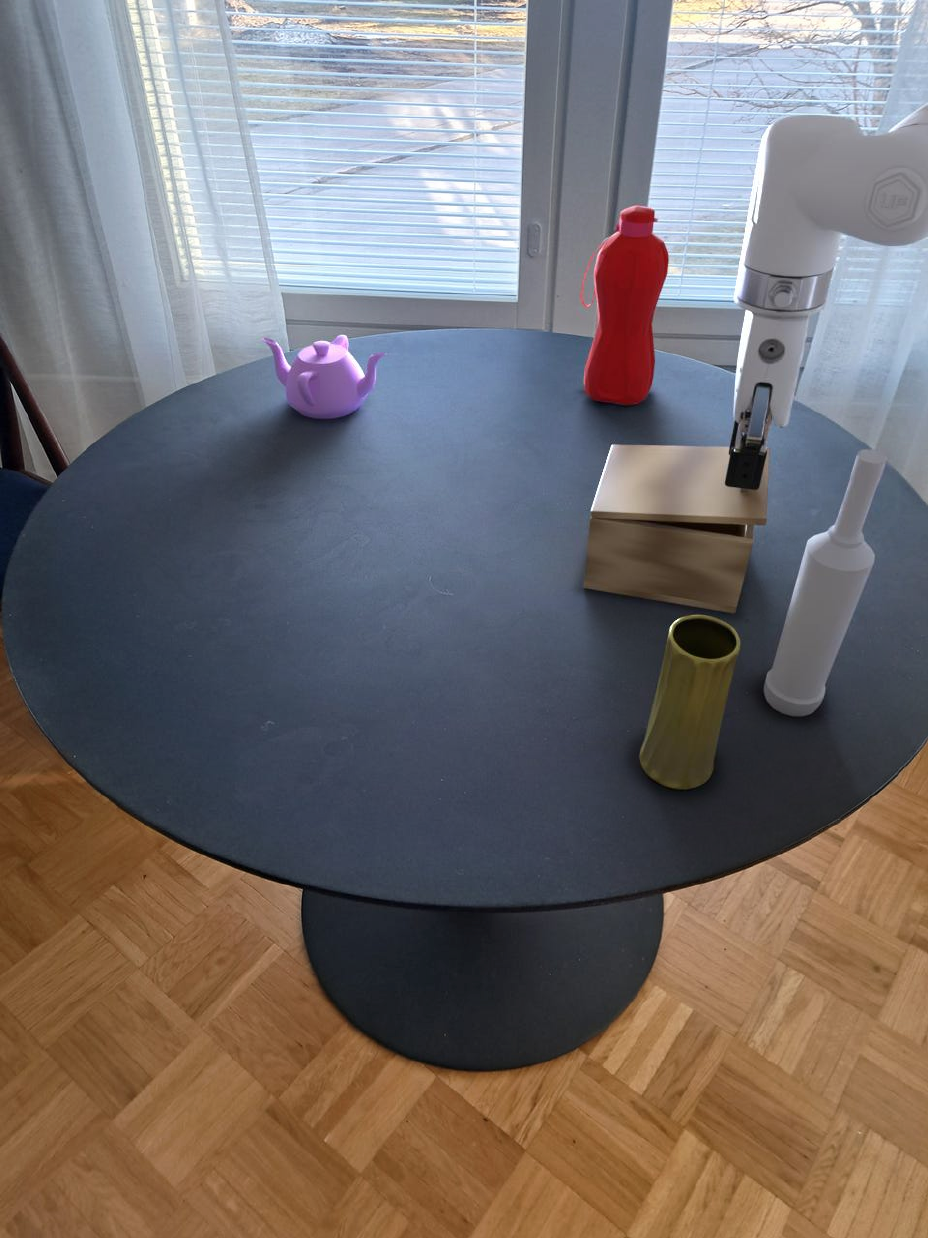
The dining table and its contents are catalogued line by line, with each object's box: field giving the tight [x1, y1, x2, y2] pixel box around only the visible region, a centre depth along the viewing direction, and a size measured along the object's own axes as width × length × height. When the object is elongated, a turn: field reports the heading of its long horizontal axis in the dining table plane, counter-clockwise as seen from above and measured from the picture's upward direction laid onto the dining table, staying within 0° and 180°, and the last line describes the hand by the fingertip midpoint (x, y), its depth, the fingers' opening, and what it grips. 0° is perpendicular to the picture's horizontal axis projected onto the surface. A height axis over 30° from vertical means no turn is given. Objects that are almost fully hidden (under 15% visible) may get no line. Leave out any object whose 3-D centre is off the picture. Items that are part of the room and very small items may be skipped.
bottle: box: [763, 448, 888, 717], centre depth 71 cm, size 5×5×25 cm
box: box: [582, 517, 755, 615], centre depth 92 cm, size 16×14×9 cm
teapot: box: [262, 334, 387, 420], centre depth 121 cm, size 12×14×9 cm
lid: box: [590, 427, 771, 526], centre depth 87 cm, size 16×14×5 cm
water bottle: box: [580, 205, 670, 407], centre depth 118 cm, size 9×11×25 cm
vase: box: [639, 614, 741, 791], centre depth 69 cm, size 6×6×14 cm
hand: (743, 469), depth 85 cm, fingers closed on lid, 5 cm apart
